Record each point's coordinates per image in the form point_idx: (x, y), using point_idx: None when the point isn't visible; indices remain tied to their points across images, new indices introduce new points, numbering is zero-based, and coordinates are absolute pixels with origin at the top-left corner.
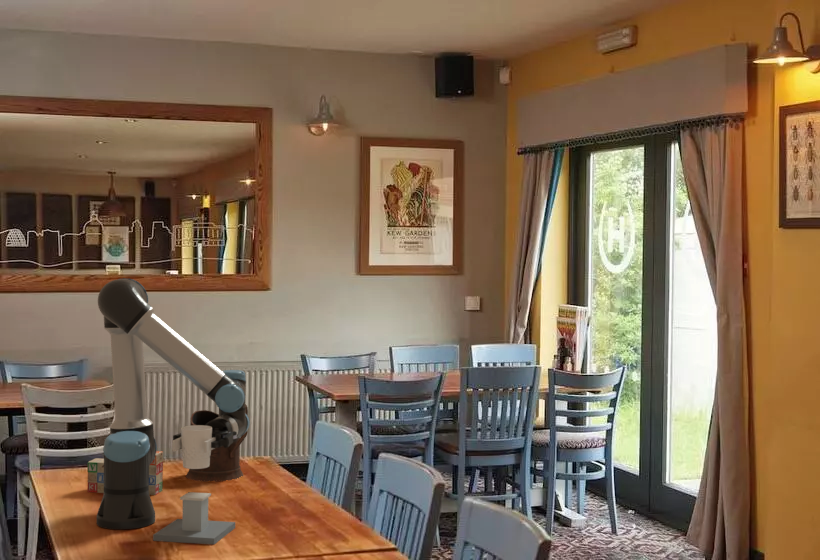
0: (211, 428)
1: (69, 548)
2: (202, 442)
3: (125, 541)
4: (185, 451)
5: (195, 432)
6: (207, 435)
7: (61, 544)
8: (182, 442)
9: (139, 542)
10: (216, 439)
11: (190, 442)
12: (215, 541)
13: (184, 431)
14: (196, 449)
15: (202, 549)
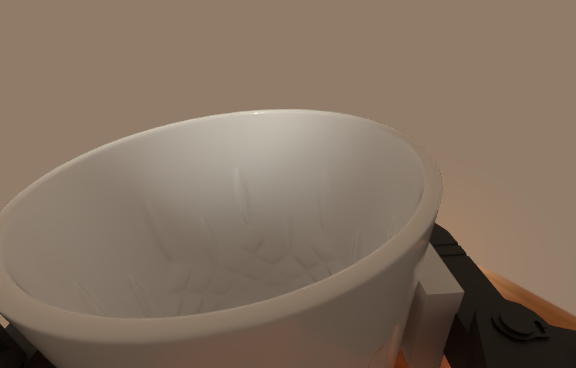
0: (43, 176)
1: (492, 284)
2: (184, 214)
3: (442, 361)
4: (311, 252)
5: (217, 129)
6: (128, 194)
7: (539, 301)
8: (337, 211)
9: (403, 362)
10: (21, 346)
11: (264, 191)
12: None
13: (308, 123)
14: (233, 237)
15: None
